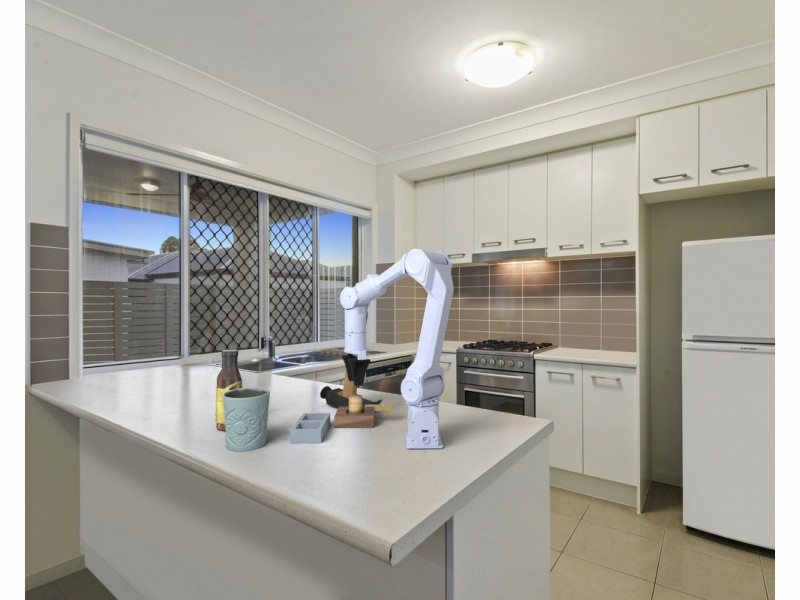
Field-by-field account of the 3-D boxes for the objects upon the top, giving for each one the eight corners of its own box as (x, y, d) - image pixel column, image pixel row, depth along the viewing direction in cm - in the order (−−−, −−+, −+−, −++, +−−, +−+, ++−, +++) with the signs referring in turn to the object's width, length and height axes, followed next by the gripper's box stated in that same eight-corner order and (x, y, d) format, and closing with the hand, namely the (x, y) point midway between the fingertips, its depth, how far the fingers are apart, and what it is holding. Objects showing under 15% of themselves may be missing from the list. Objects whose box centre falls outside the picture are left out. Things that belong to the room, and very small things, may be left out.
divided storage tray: (320, 443, 95) (320, 429, 95) (290, 443, 95) (290, 430, 95) (330, 424, 109) (330, 413, 109) (303, 424, 109) (303, 413, 109)
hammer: (379, 418, 122) (394, 318, 119) (368, 423, 118) (384, 319, 115) (330, 397, 133) (342, 305, 130) (318, 400, 129) (331, 305, 126)
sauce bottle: (232, 432, 103) (232, 352, 103) (210, 430, 104) (209, 351, 104) (247, 424, 109) (247, 348, 109) (226, 423, 110) (225, 348, 110)
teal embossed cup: (254, 434, 101) (254, 385, 101) (279, 444, 95) (279, 391, 94) (213, 446, 93) (213, 392, 93) (237, 457, 87) (237, 399, 87)
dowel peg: (361, 424, 109) (361, 397, 109) (348, 424, 109) (348, 397, 109) (362, 420, 113) (362, 394, 113) (349, 420, 113) (349, 394, 113)
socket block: (373, 427, 106) (373, 411, 106) (334, 428, 106) (334, 411, 106) (375, 416, 116) (375, 401, 116) (339, 416, 116) (339, 401, 116)
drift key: (392, 412, 110) (392, 405, 110) (364, 412, 110) (364, 406, 110) (392, 409, 113) (392, 402, 113) (365, 409, 113) (365, 403, 113)
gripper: (377, 334, 106) (377, 387, 106) (363, 330, 119) (363, 377, 119) (350, 335, 103) (350, 389, 103) (338, 330, 117) (338, 379, 117)
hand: (355, 383), depth 111 cm, fingers open, 6 cm apart
